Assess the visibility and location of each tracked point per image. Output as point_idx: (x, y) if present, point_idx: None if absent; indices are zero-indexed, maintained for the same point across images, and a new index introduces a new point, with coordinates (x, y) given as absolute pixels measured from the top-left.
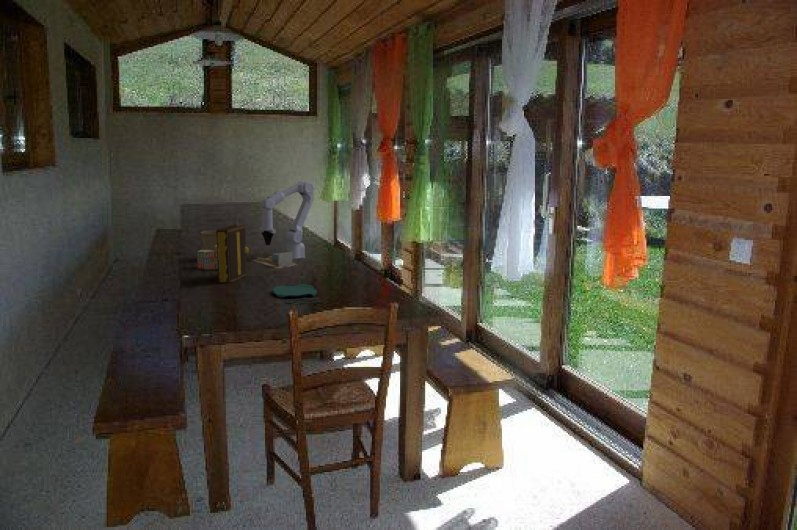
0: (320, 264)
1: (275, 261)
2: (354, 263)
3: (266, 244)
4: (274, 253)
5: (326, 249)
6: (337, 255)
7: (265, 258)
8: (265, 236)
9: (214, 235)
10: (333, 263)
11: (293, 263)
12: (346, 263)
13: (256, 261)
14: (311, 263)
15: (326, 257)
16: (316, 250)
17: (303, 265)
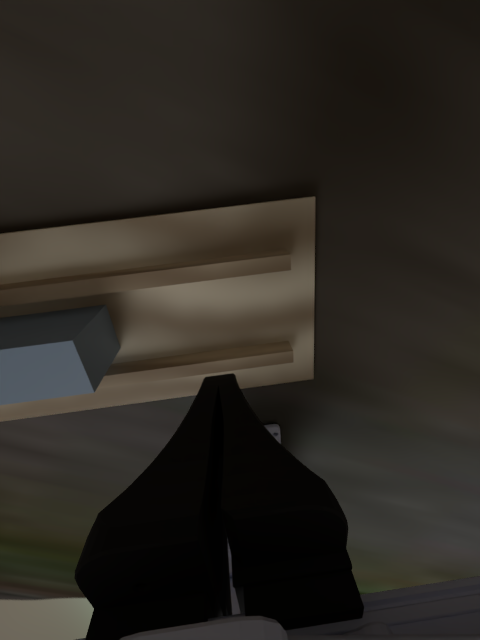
0: (17, 507)
1: (45, 318)
2: (7, 596)
3: (211, 379)
4: (81, 362)
5: (365, 589)
6: None
7: (305, 321)
8: (169, 467)
9: None
10: (30, 548)
11: (33, 410)
12: (15, 579)
13: (221, 213)
14: (62, 484)
15: None
16: (374, 564)
17: (8, 441)
